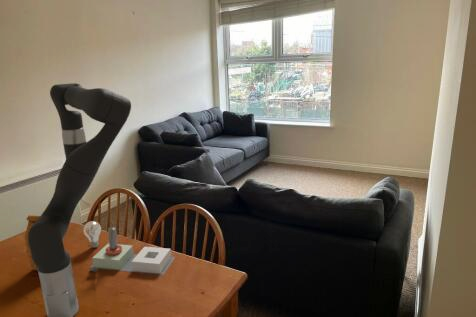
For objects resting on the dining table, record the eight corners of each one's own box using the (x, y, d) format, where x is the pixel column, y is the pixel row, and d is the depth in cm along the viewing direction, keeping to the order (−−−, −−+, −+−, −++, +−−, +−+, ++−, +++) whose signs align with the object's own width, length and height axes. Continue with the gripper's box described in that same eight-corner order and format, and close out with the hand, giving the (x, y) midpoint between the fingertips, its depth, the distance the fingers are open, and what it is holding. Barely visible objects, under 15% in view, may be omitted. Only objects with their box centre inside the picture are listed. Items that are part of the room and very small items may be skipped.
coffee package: (50, 278, 136) (40, 224, 130) (27, 271, 141) (16, 219, 135) (72, 264, 145) (63, 213, 139) (49, 258, 150) (40, 209, 144)
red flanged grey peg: (120, 265, 141) (117, 232, 137) (104, 265, 141) (101, 232, 137) (124, 257, 147) (122, 225, 143) (109, 257, 146) (106, 225, 143)
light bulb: (85, 245, 159) (81, 220, 156) (102, 241, 162) (99, 217, 159) (86, 252, 153) (82, 226, 150) (104, 249, 156) (100, 223, 153)
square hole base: (175, 260, 146) (174, 248, 144) (163, 278, 134) (162, 265, 133) (107, 254, 152) (105, 242, 150) (90, 270, 140) (88, 258, 139)
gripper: (94, 141, 128) (100, 185, 133) (75, 136, 137) (81, 177, 142) (73, 145, 123) (80, 191, 127) (55, 140, 132) (62, 182, 136)
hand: (81, 183), depth 135 cm, fingers open, 8 cm apart
